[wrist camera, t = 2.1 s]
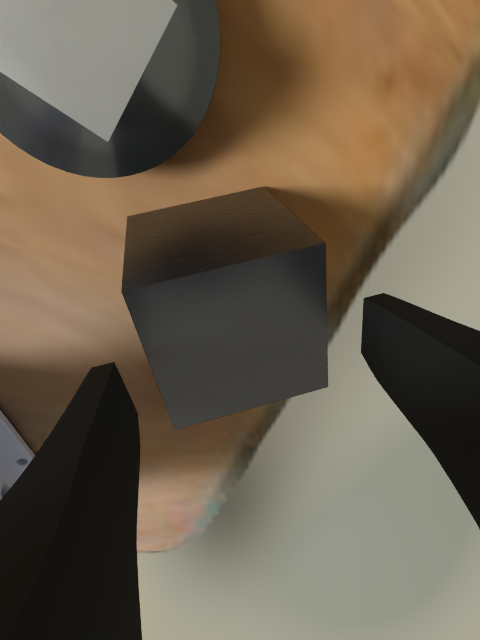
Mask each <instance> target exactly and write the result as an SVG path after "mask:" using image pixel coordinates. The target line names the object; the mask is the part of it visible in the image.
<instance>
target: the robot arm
mask: <svg viewBox="0 0 480 640" xmlns="http://www.w3.org/2000/svg"><path fill="white" fill-rule="evenodd" d="M361 353H362V355H363V357H364V359H365V360H366V362H367V364H368V366H369V368H370V369H371V371H372V373H373V374H374V376H375V377H376V379H377V381H378V382H379V383H380V385H381V386H382V387H383V389H384V390H385V391H386V392H387V394H388V395H389V396H390V398H391V399H392V400H393V402H394V403H395V404H396V405H397V407H398V408H399V409H400V411H401V412H402V413H403V414H404V415H405V417H406V418H407V419H408V421H409V422H410V423H411V424H412V426H413V427H414V428H415V430H416V431H417V432H418V433H419V435H420V436H421V437H422V438H423V440H424V441H425V442H426V444H427V445H428V447H429V448H430V449H431V451H432V452H433V454H434V455H435V456H436V458H437V460H438V461H439V463H440V464H441V466H442V467H443V469H444V471H445V472H446V474H447V475H448V477H449V478H450V480H451V482H452V483H453V485H454V486H455V488H456V490H457V491H458V493H459V494H460V496H461V498H462V500H463V501H464V503H465V505H466V506H467V508H468V510H469V511H470V513H471V515H472V516H473V518H474V520H475V521H476V523H477V525H478V527H479V529H480V331H478V330H475V329H473V328H470V327H467V326H465V325H462V324H460V323H457V322H454V321H452V320H449V319H447V318H445V317H442V316H440V315H437V314H435V313H432V312H430V311H427V310H425V309H423V308H420V307H418V306H415V305H413V304H411V303H408V302H406V301H403V300H401V299H398V298H396V297H393V296H390V295H387V294H384V293H382V294H379V295H374V296H370V297H367V298H364V304H363V323H362V343H361ZM139 466H140V435H139V424H138V413H137V411H136V408H135V406H134V404H133V402H132V400H131V397H130V395H129V393H128V391H127V389H126V387H125V384H124V382H123V380H122V378H121V376H120V373H119V371H118V369H117V367H116V365H115V363H114V362H112V363H108V364H104V365H100V366H97V367H93V368H91V370H90V371H89V373H88V374H87V376H86V377H85V379H84V381H83V382H82V384H81V386H80V387H79V389H78V390H77V392H76V394H75V395H74V397H73V399H72V400H71V402H70V404H69V405H68V407H67V408H66V410H65V412H64V413H63V415H62V416H61V418H60V419H59V421H58V423H57V424H56V426H55V427H54V429H53V430H52V432H51V433H50V435H49V436H48V438H47V439H46V441H45V442H44V443H43V445H42V446H41V448H40V449H39V451H38V452H37V453H36V455H34V453H33V452H32V451H31V449H30V448H29V447H28V446H27V444H26V443H25V442H24V440H23V439H22V438H21V436H20V435H19V434H18V433H17V431H16V430H15V429H14V427H13V426H12V425H11V423H10V422H9V421H8V420H7V418H6V417H5V416H4V414H3V413H2V412H1V410H0V640H142V632H141V618H140V603H139V587H138V567H137V546H136V540H137V508H138V488H139Z"/></svg>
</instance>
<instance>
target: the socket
mask: <svg viewBox="0 0 480 640" xmlns="http://www.w3.org/2000/svg"><path fill="white" fill-rule="evenodd" d="M121 292H122V294H123V297H124V299H125V302H126V304H127V307H128V310H129V312H130V315H131V317H132V320H133V323H134V325H135V328H136V330H137V333H138V336H139V338H140V341H141V343H142V346H143V348H144V351H145V354H146V356H147V359H148V361H149V364H150V367H151V369H152V372H153V374H154V377H155V380H156V382H157V385H158V387H159V390H160V392H161V395H162V398H163V400H164V403H165V405H166V408H167V411H168V413H169V416H170V418H171V421H172V423H173V426H174V429H175V430H177V429H180V428H184V427H187V426H191V425H194V424H198V423H202V422H205V421H209V420H212V419H216V418H219V417H223V416H226V415H230V414H234V413H237V412H241V411H244V410H248V409H251V408H255V407H258V406H262V405H266V404H269V403H273V402H276V401H280V400H283V399H287V398H290V397H294V396H297V395H301V394H305V393H308V392H312V391H315V390H319V389H322V388H326V387H328V361H327V360H328V359H327V358H328V357H327V300H326V244H325V242H324V241H323V240H322V239H321V238H320V237H319V236H318V235H317V234H315V233H314V232H313V231H312V230H311V229H310V228H309V227H308V226H307V225H305V224H304V223H303V222H302V221H301V220H300V219H299V218H298V217H297V216H295V215H294V214H293V213H292V212H291V211H290V210H289V209H288V208H287V207H285V206H284V205H283V204H282V203H281V202H280V201H279V200H278V199H277V198H275V197H274V196H273V195H272V194H271V193H270V192H269V191H268V190H267V189H265V188H264V187H260V188H255V189H250V190H246V191H241V192H237V193H232V194H228V195H223V196H219V197H214V198H210V199H205V200H201V201H196V202H191V203H187V204H182V205H178V206H173V207H169V208H164V209H160V210H155V211H151V212H146V213H142V214H137V215H132V216H128V217H127V227H126V240H125V253H124V266H123V278H122V291H121Z"/></svg>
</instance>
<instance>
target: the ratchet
mask: <svg viewBox="0 0 480 640" xmlns="http://www.w3.org/2000/svg"><path fill="white" fill-rule="evenodd" d="M219 60H220V26H219V15H218V9H217V4H216V0H0V133H1V134H2V135H4V136H5V137H6V138H7V139H8V140H10V141H11V142H12V143H13V144H15V145H16V146H17V147H19V148H20V149H22V150H24V151H25V152H27V153H28V154H30V155H31V156H33V157H35V158H37V159H39V160H40V161H42V162H44V163H46V164H48V165H50V166H53V167H56V168H58V169H61V170H64V171H66V172H70V173H74V174H78V175H82V176H89V177H98V178H116V177H123V176H130V175H133V174H137V173H140V172H144V171H146V170H148V169H151V168H153V167H155V166H157V165H159V164H161V163H162V162H164V161H165V160H167V159H169V158H170V157H171V156H172V155H174V154H175V153H176V152H177V151H178V150H180V149H181V148H182V147H183V146H184V144H185V143H186V142H187V141H188V140H189V139H190V138H191V137H192V135H193V134H194V132H195V131H196V129H197V128H198V126H199V125H200V123H201V121H202V119H203V117H204V115H205V113H206V111H207V109H208V107H209V104H210V101H211V98H212V96H213V93H214V89H215V85H216V80H217V76H218V69H219Z"/></svg>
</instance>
